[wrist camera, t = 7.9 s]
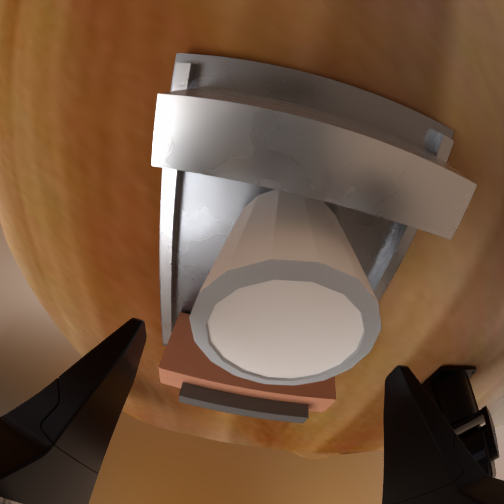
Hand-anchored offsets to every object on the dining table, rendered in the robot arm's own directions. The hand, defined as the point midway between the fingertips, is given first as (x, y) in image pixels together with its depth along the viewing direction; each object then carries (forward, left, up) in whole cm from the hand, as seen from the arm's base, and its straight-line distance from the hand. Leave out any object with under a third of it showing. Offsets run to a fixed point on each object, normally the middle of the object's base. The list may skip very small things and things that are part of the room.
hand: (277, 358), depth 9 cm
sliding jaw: (0, +9, -8) cm, 11 cm away
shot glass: (0, 0, -8) cm, 8 cm away
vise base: (0, +2, -9) cm, 9 cm away
